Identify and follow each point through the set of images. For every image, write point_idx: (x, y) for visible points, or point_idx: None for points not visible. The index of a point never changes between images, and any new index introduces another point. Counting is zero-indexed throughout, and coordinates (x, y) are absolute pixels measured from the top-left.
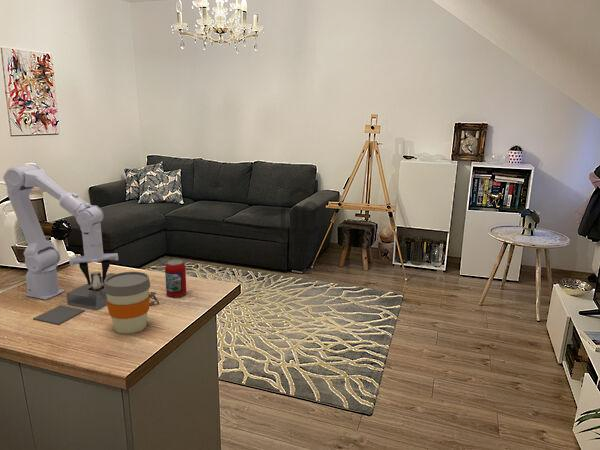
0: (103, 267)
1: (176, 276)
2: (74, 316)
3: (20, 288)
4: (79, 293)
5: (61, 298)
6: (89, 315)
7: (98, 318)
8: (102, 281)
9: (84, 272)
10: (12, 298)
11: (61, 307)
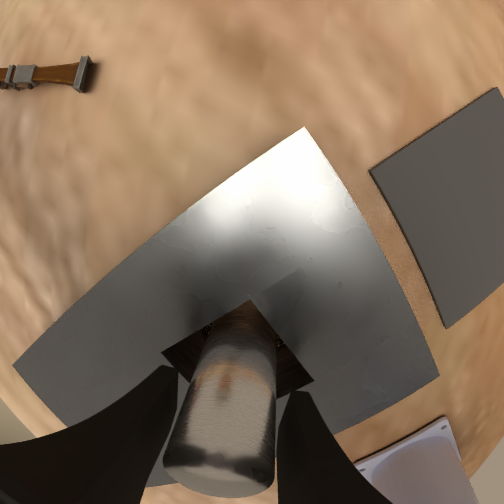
0: (74, 478)
1: None
2: (431, 129)
3: None
4: (385, 332)
5: (397, 412)
6: (354, 90)
7: (311, 20)
8: None
9: (369, 495)
10: (485, 447)
11: (454, 295)
